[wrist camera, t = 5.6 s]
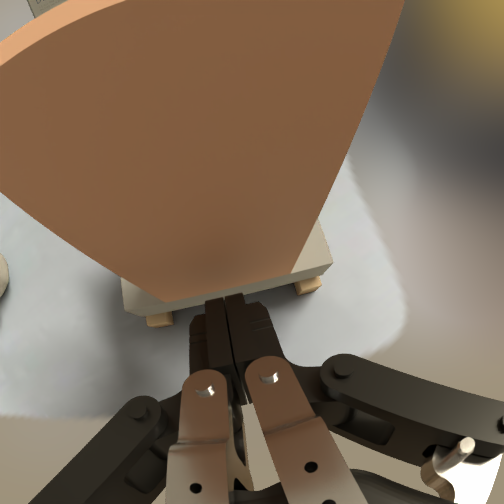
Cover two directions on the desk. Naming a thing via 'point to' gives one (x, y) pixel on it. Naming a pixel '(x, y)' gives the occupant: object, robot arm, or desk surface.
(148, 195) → the plunger
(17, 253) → the desk surface
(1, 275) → the beige eared figurine
